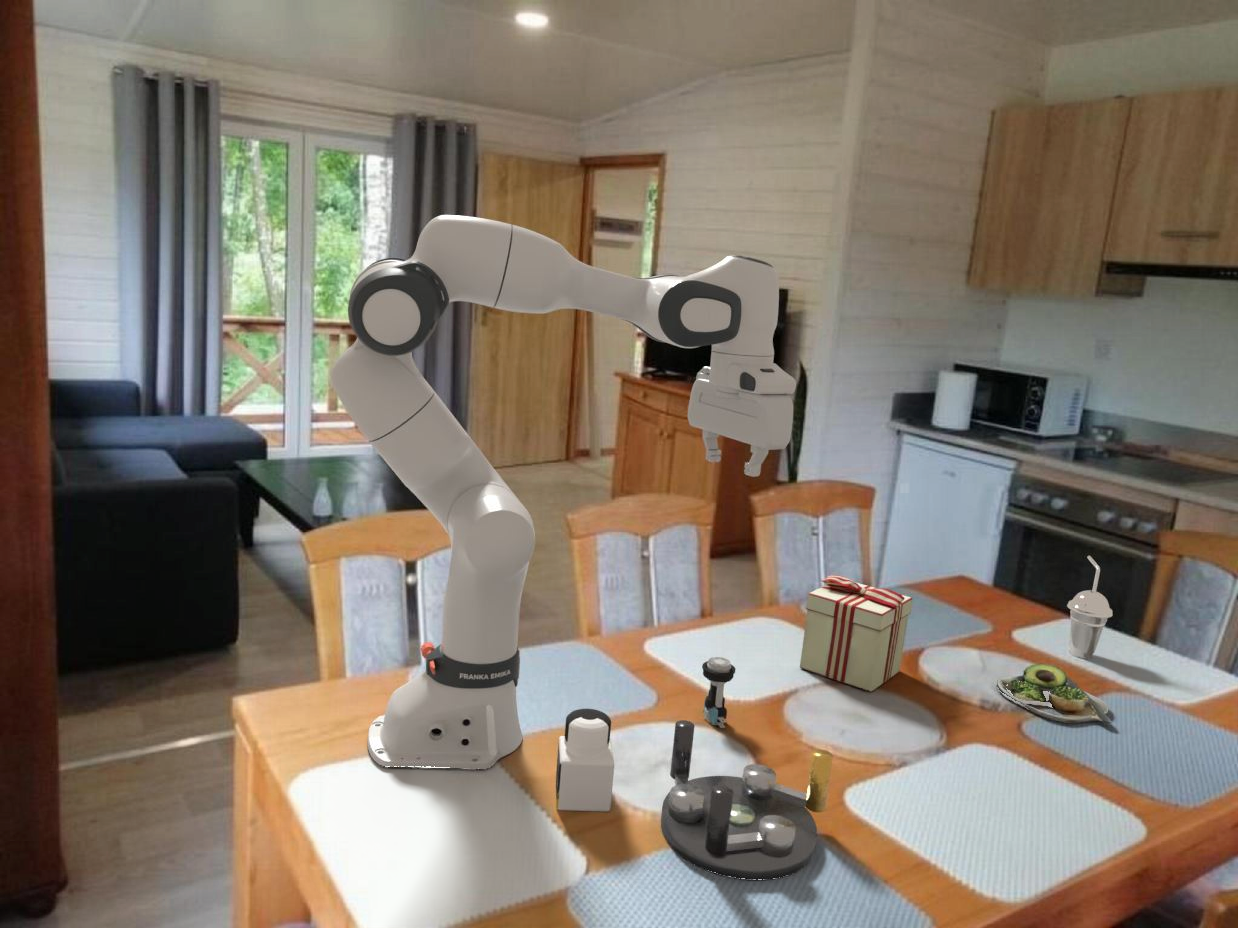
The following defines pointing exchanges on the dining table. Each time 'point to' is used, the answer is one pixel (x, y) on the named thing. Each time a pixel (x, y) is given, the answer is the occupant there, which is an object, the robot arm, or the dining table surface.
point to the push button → (717, 688)
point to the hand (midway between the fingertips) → (731, 468)
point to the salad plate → (1055, 694)
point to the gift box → (854, 632)
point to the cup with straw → (1087, 619)
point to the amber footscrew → (763, 787)
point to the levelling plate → (743, 820)
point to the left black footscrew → (684, 777)
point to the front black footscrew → (770, 838)
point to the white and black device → (585, 763)
